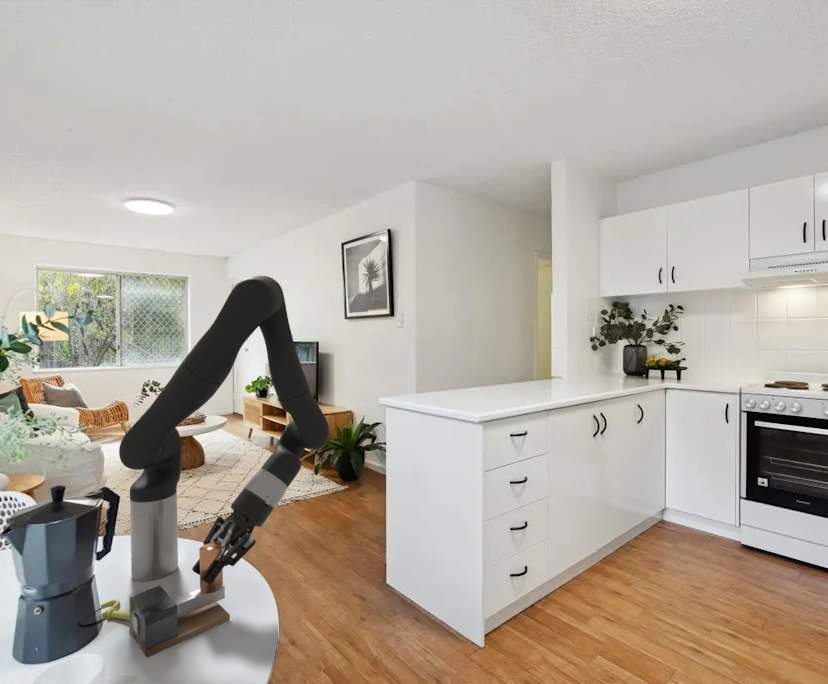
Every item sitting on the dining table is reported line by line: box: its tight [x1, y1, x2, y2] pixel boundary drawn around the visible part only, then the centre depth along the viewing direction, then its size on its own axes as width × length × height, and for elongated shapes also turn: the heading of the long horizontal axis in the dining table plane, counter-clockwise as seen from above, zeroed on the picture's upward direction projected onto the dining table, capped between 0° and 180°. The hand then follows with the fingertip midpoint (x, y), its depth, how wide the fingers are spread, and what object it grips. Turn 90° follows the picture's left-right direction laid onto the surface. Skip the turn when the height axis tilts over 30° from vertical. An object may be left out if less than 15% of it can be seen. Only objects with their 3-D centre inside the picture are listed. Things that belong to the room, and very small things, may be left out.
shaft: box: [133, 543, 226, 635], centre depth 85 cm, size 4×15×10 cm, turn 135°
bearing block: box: [129, 585, 177, 650], centre depth 82 cm, size 9×5×6 cm, turn 45°
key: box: [100, 598, 130, 621], centre depth 89 cm, size 7×12×2 cm, turn 90°
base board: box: [128, 601, 231, 659], centre depth 85 cm, size 10×14×1 cm
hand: (201, 576), depth 87 cm, fingers closed on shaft, 4 cm apart
